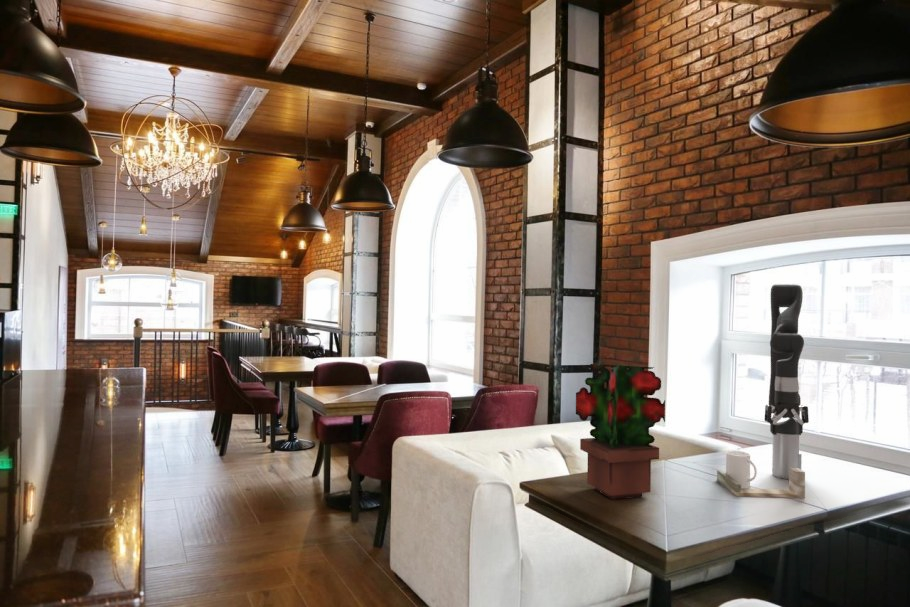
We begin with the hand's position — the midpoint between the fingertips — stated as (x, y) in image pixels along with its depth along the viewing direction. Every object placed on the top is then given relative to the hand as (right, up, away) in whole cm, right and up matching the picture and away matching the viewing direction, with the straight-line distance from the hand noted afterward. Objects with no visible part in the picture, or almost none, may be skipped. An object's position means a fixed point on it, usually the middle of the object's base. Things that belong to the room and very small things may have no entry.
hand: (786, 434), depth 221 cm
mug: (-13, -21, +6) cm, 25 cm away
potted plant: (-61, -20, -3) cm, 64 cm away
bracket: (-8, -20, +3) cm, 22 cm away
